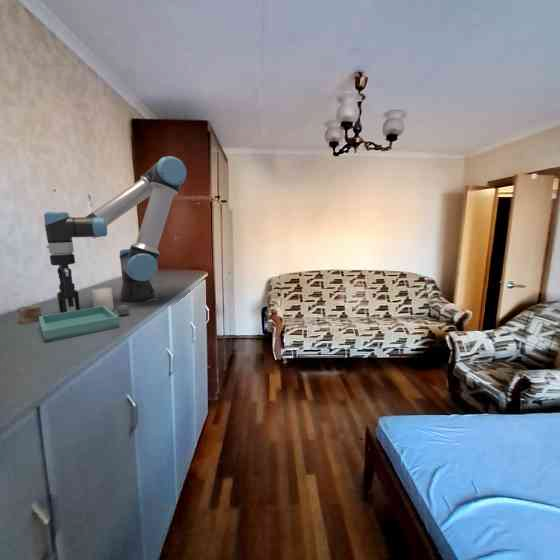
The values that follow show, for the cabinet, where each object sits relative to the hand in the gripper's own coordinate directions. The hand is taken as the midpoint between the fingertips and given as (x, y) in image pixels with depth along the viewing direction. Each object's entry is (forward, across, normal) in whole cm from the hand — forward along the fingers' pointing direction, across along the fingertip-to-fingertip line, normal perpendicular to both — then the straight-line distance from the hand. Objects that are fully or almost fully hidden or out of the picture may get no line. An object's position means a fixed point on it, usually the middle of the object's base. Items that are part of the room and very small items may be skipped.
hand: (70, 312), depth 118 cm
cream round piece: (+1, +3, +11) cm, 11 cm away
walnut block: (+1, 0, -12) cm, 12 cm away
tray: (+1, +20, 0) cm, 20 cm away
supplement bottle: (+1, 0, 0) cm, 1 cm away
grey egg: (+1, +16, +15) cm, 22 cm away
